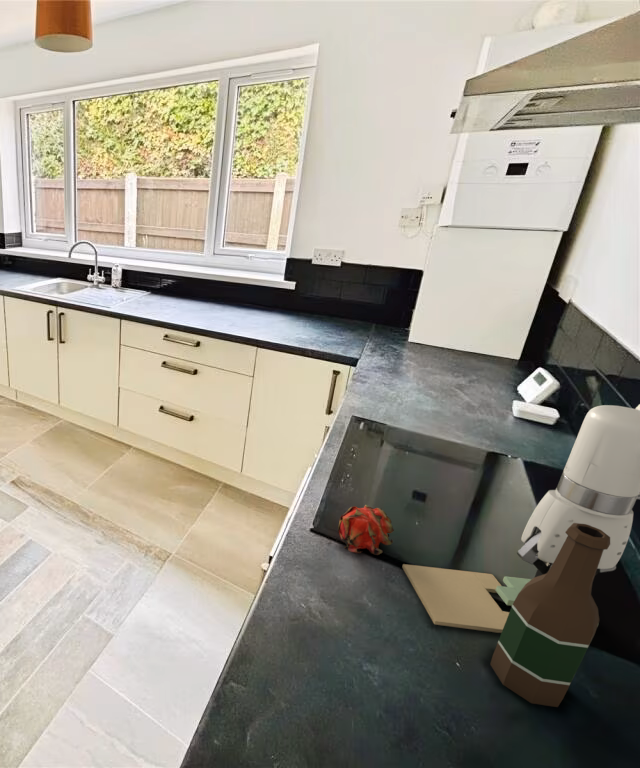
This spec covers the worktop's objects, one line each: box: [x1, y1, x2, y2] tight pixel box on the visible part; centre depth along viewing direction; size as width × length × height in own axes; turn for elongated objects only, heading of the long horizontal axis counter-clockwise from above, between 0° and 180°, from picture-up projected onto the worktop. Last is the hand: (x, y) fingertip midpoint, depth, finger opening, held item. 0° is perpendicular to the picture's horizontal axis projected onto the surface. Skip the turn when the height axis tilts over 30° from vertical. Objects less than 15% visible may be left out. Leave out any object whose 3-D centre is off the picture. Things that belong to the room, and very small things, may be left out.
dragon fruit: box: [337, 504, 395, 556], centre depth 83 cm, size 8×8×12 cm
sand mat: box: [401, 563, 510, 634], centre depth 72 cm, size 14×12×1 cm
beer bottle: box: [489, 523, 610, 708], centre depth 56 cm, size 8×8×24 cm
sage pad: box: [495, 562, 600, 628], centre depth 69 cm, size 10×8×7 cm
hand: (549, 595), depth 70 cm, fingers closed on sage pad
